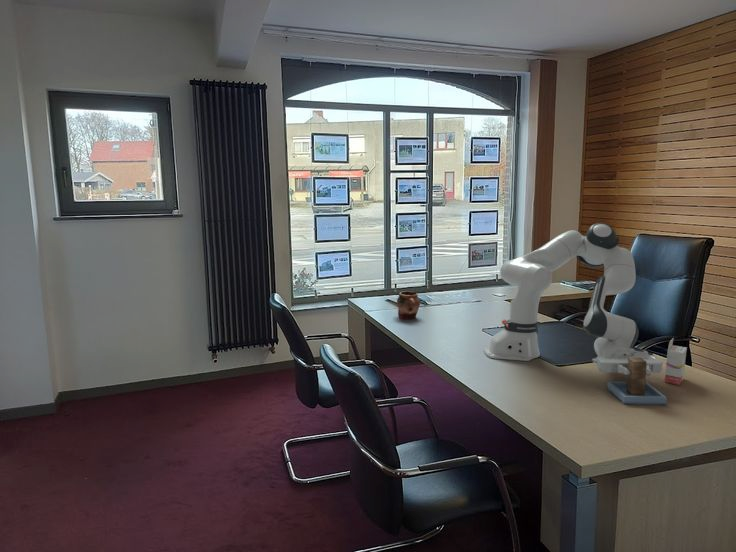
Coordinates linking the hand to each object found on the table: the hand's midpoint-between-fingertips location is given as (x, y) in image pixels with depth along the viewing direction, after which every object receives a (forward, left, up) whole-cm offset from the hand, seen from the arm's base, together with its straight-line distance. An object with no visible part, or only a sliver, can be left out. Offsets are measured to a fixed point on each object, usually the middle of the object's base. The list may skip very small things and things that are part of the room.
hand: (638, 372), depth 162 cm
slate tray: (0, +1, -8) cm, 9 cm away
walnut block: (0, +1, -8) cm, 8 cm away
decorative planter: (-74, +103, -9) cm, 127 cm away
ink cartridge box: (+20, +16, -9) cm, 27 cm away
